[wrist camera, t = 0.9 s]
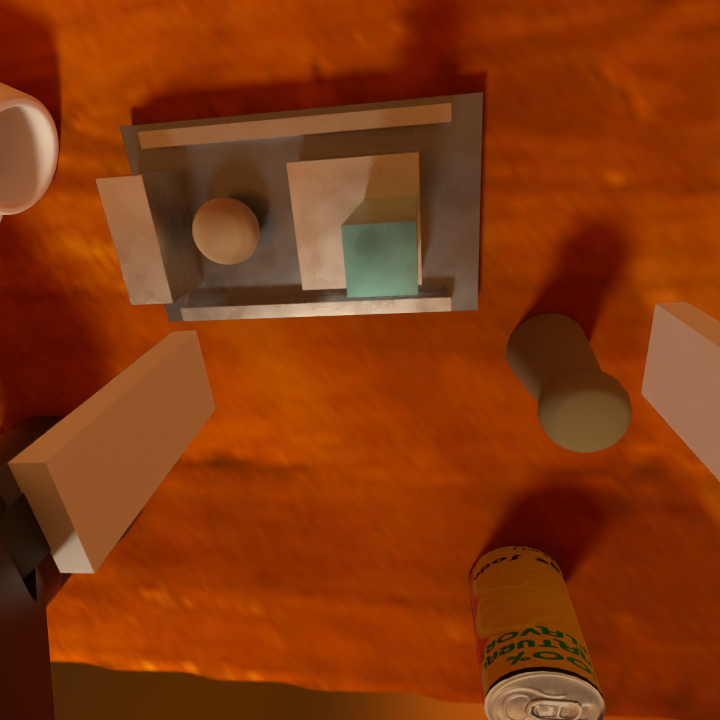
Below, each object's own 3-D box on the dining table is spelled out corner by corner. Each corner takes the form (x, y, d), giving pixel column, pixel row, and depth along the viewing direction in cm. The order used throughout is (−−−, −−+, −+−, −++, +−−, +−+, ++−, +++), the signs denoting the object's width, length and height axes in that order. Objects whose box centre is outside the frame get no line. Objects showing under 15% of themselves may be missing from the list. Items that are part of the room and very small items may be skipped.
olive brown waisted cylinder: (513, 310, 36) (549, 374, 26) (595, 315, 36) (663, 383, 26) (500, 380, 39) (529, 463, 29) (577, 386, 38) (633, 473, 29)
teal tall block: (311, 278, 35) (258, 348, 23) (297, 160, 32) (227, 174, 20) (421, 273, 34) (423, 343, 22) (418, 150, 31) (419, 158, 19)
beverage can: (465, 547, 47) (480, 670, 36) (562, 544, 45) (608, 671, 35) (471, 611, 50) (486, 741, 40) (561, 610, 49) (602, 744, 38)
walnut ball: (214, 258, 36) (189, 273, 32) (202, 196, 34) (173, 203, 30) (271, 255, 35) (253, 270, 31) (262, 191, 33) (241, 199, 29)
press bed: (177, 315, 40) (136, 345, 34) (131, 127, 34) (71, 124, 28) (475, 303, 36) (486, 335, 31) (480, 94, 31) (495, 83, 25)
